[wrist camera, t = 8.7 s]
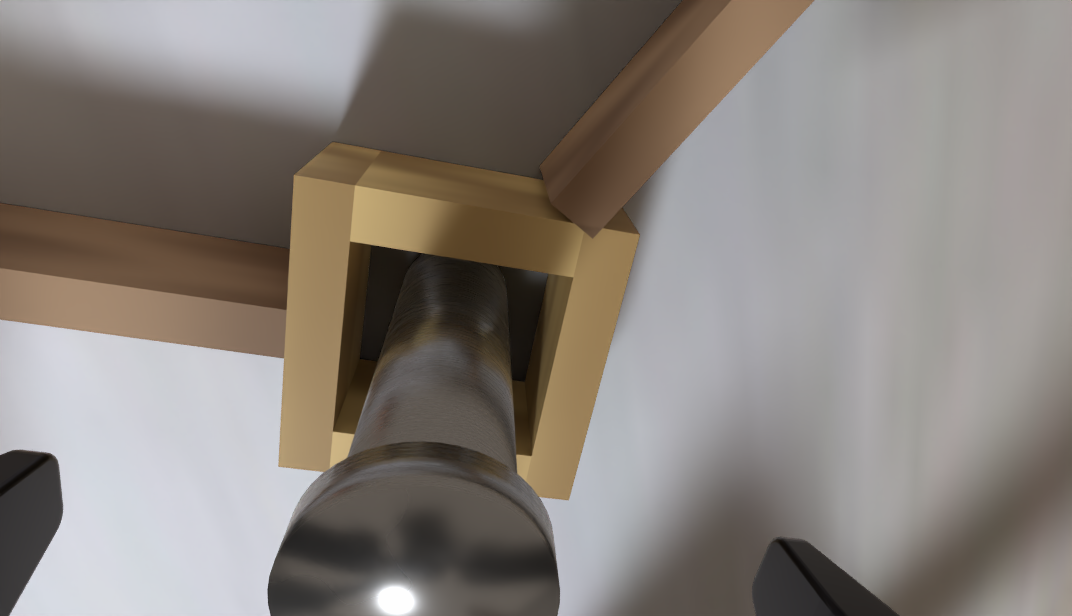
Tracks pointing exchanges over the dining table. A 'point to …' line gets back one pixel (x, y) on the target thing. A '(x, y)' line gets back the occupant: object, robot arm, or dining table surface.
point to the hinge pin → (427, 474)
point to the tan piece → (414, 225)
